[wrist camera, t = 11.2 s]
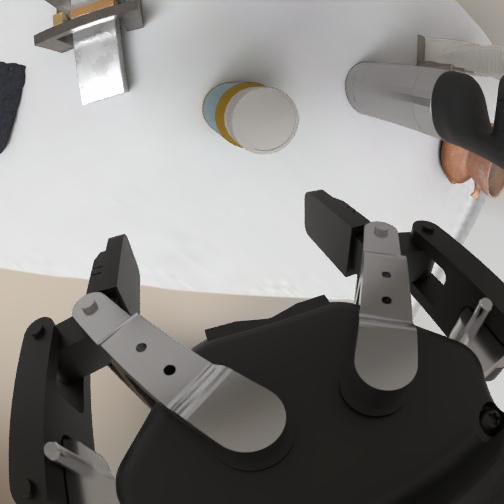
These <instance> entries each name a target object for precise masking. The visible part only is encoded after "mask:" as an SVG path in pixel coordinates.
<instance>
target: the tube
mask: <svg viewBox="0 0 504 504" xmlns="http://www.w3.org/2000/svg"><path fill="white" fill-rule="evenodd" d="M117 4H118V0H71V19H74V18H77V17H79V16H82V15H85V14H88V13H91V12H94V11H97V10H100V9H103V8H107V7H110V6H114V5H117ZM73 42H74V51H75V59H76V67H77V74H78V81H79V87H80V93H81V98H82V104H83V105H85V104H89V103H93V102H96V101H99V100H102V99H105V98H109V97H112V96H115V95H119V94H122V93H126V92H129V91H128V85H127V79H126V72H125V65H124V57H123V50H122V41H121V32H120V22H119V18H116V19H113V20H109V21H106V22H103V23H99V24H96V25H93V26H90V27H87V28H84V29H82V30H79V31H76V32H74V33H73Z"/></svg>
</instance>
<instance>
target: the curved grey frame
mask: <svg viewBox="0 0 504 504" xmlns="http://www.w3.org/2000/svg"><path fill="white" fill-rule="evenodd" d="M45 1H47V2H48V3H50V4H51V5H53V6H54V7H56V8H57V14H56V15H53V23H54V27H52V28H49V29H47V30H45V31H43V32H41V33H39V34H36V35H34V43H35V46H39V47H43V48H47V49H50V50H54V51H57V52H61V53H63V52H65V51H68V50H71V49H73V48H74V42H73V33H74V32H76V31H79V30H82V29H84V28H87V27H90V26H93V25H96V24H99V23H103V22H106V21H109V20H113V19H116V18H120V19H121V20H122V22H123V24H124V26H125V27H126V29H127V31H131V30H135V29H139V28H143V21H142V10H141V0H124V3H121V4H117V5H114V6H110V7H107V8H103V9H100V10H97V11H94V12H91V13H88V14H85V15H82V16H79V17H77V18H74V19H71V0H45Z"/></svg>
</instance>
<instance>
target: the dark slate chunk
mask: <svg viewBox="0 0 504 504" xmlns="http://www.w3.org/2000/svg"><path fill="white" fill-rule="evenodd" d="M24 69H25V66H23V65H19V64H17V63H8V64H6V63H5V62H0V154H1V153H2V152H3V150H4V149H5V146H6V143H7V139H8V135H9V131H10V128H11V126H12V122H13V119H14V112H15V110H16V107H17V105H18V103H19V100H20V94H21V89H22V87H23V85H24V78H25V74H24Z"/></svg>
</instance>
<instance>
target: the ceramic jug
mask: <svg viewBox="0 0 504 504" xmlns="http://www.w3.org/2000/svg"><path fill="white" fill-rule="evenodd" d="M491 126H492V129H494V128H493V126H494V124H492V123H491ZM441 162H442V167H443V170H444V172H445V174H446V176H447V178H448V180H449V181H450V182H451V183H452V184H455V183H463V182H466V181H467V180H469V179H470V178H471V177H472V179H473V180H474V183H475V188H474V192H473V193H472V194H471V196H472V197H473V199H474V200H475V199H477V198H478V196H479V194H480V190H482V191H483V192H484V193H485V194H487V195H488V196H489V197H491V198H496V197H498V196H499V195H500V193H501V192H502V191H503V189H504V170H503V169H502V168H500V167H498V166H497V165H495V164H493V163H492V162H490V161H488V160H486V159H485V158H483V157H481V156H479V155H477V154H475V153H473V152H470V151H468V150H466V149H464V148H461V147H459V146H456V145H454V144H451V143H448V142H446V141H443V144H442V150H441ZM488 186H489V188H488Z"/></svg>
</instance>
